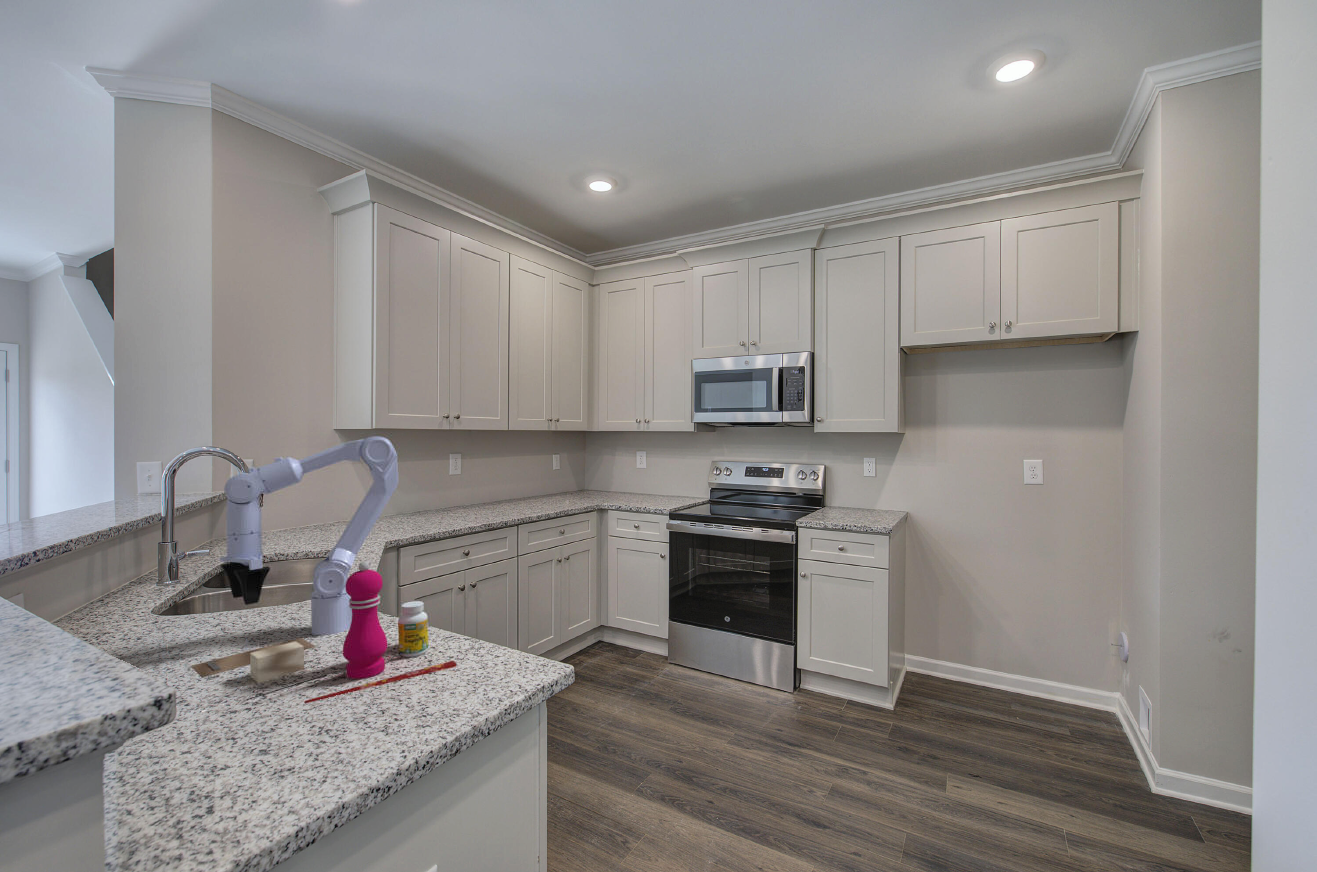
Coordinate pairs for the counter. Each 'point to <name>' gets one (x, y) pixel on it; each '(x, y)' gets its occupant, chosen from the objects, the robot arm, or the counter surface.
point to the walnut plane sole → (237, 660)
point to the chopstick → (391, 679)
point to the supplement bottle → (413, 630)
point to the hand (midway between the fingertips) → (245, 599)
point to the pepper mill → (364, 625)
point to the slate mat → (286, 687)
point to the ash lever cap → (277, 661)
